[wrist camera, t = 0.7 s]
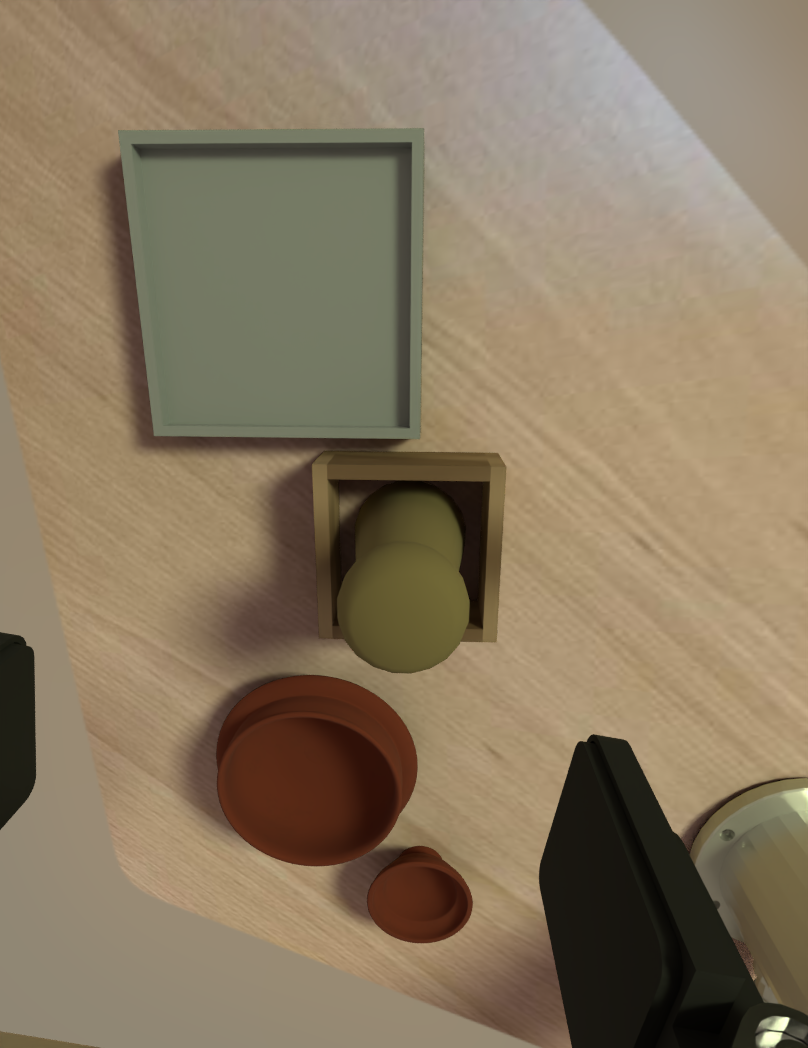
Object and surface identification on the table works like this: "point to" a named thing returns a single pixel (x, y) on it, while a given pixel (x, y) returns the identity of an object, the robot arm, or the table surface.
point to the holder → (409, 468)
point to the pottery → (335, 795)
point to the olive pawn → (405, 579)
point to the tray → (279, 279)
